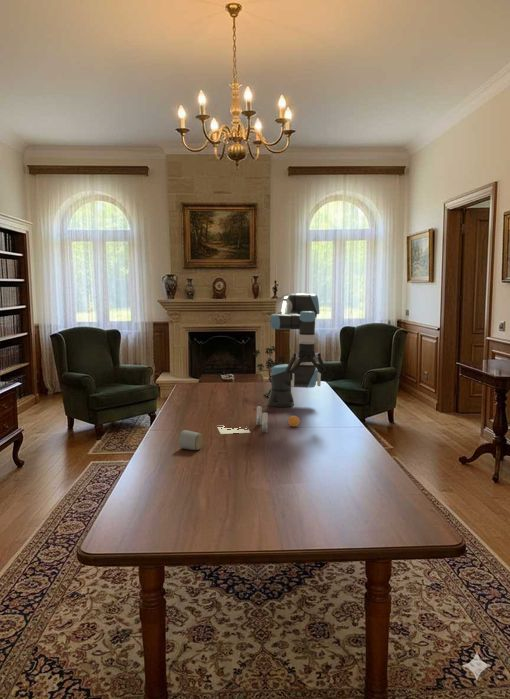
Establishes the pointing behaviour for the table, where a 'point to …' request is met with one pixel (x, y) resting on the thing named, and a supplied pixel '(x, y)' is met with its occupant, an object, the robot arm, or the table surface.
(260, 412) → the post
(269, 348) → the bonsai tree
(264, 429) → the post
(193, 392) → the table surface
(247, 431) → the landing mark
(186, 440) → the grey cylinder
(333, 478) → the table surface
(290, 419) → the ball
